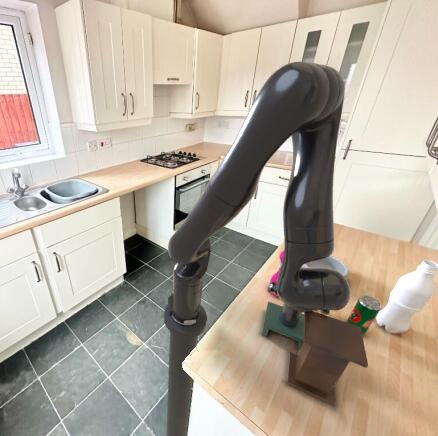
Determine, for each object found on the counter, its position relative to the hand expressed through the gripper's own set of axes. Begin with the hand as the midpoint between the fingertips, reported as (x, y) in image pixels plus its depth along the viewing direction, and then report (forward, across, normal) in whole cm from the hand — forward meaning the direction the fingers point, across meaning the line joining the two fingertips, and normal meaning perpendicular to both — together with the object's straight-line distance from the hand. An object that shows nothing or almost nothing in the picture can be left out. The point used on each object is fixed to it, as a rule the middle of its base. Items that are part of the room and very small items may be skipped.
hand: (295, 298), depth 70 cm
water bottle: (+23, -26, -4) cm, 35 cm away
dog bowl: (+34, -7, -16) cm, 38 cm away
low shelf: (+8, 0, +10) cm, 13 cm away
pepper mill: (+20, +4, -2) cm, 21 cm away
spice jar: (+4, 0, +6) cm, 8 cm away
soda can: (+18, -18, 0) cm, 25 cm away
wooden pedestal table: (0, -8, +18) cm, 20 cm away
